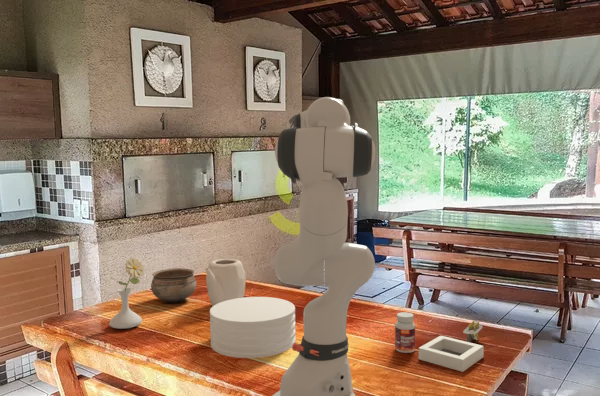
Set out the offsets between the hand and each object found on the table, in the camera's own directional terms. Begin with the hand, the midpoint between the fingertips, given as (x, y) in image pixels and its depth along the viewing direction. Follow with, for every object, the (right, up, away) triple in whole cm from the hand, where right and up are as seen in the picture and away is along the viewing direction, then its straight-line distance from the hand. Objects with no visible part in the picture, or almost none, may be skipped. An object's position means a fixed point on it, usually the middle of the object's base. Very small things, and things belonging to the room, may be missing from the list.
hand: (331, 189), depth 169 cm
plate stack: (-26, -51, +3) cm, 57 cm away
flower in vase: (-73, -50, +21) cm, 91 cm away
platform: (+46, -50, 0) cm, 68 cm away
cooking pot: (-64, -47, +53) cm, 95 cm away
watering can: (-41, -48, +43) cm, 76 cm away
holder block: (+35, -51, -13) cm, 63 cm away
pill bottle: (+23, -51, -6) cm, 56 cm away
